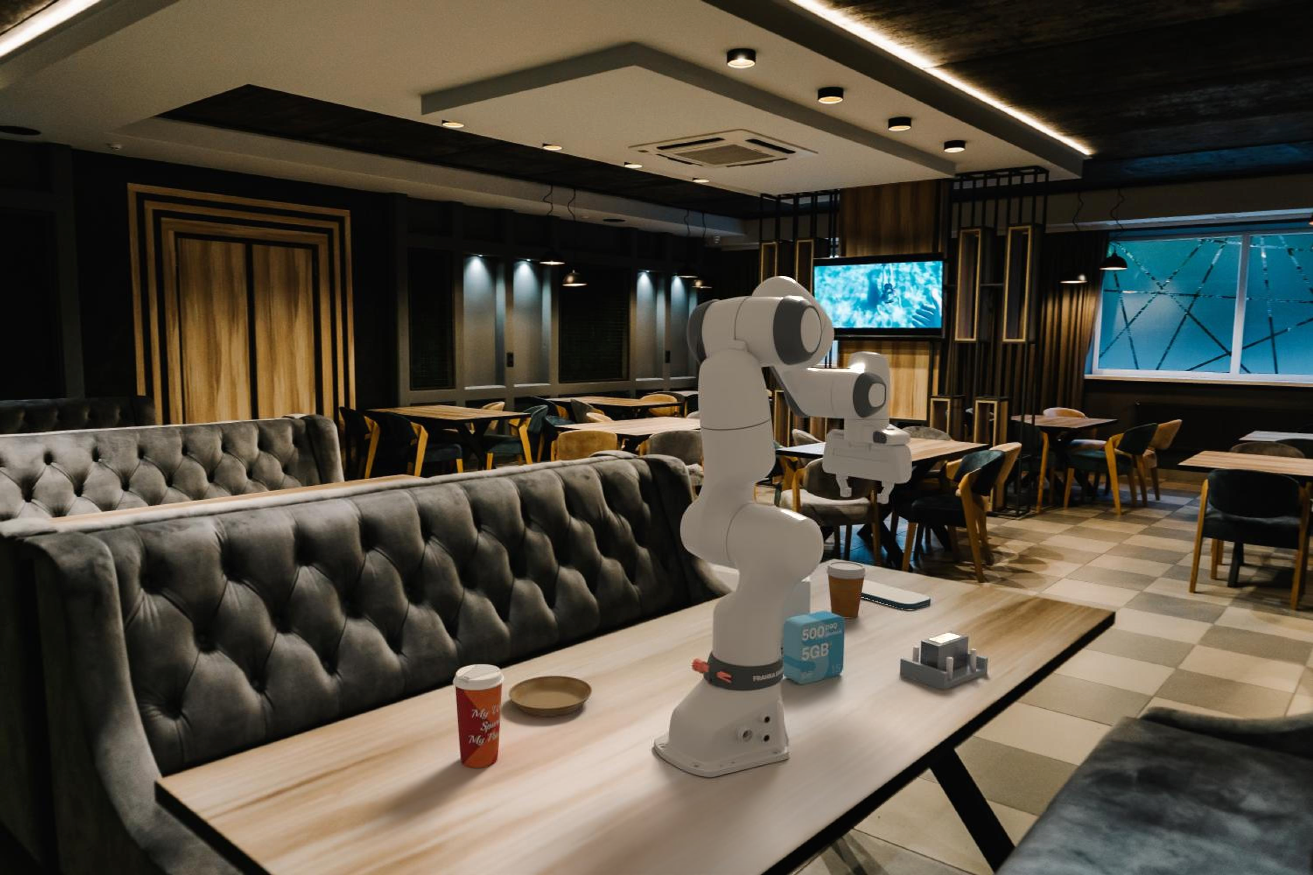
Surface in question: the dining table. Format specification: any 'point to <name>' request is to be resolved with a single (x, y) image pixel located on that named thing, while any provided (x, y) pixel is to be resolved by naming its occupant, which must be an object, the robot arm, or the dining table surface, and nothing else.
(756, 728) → the robot arm
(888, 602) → the white teal rounded slab
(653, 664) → the dining table surface
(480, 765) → the paper cup
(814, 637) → the data package
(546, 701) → the plant saucer
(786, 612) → the supplement box
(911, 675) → the tray
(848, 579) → the disposable coffee cup
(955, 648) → the block
